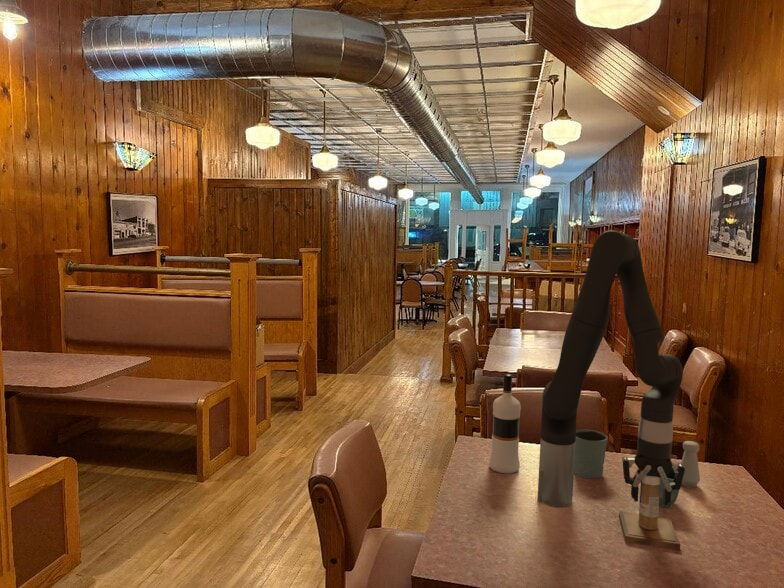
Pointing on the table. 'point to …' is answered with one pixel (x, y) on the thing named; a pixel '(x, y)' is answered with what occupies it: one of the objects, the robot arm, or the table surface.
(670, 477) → the flower pot
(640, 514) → the sprinkles bottle
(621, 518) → the brown rectangular tray
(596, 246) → the robot arm
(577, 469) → the green round cup
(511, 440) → the vodka
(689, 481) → the salt shaker
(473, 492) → the table surface
